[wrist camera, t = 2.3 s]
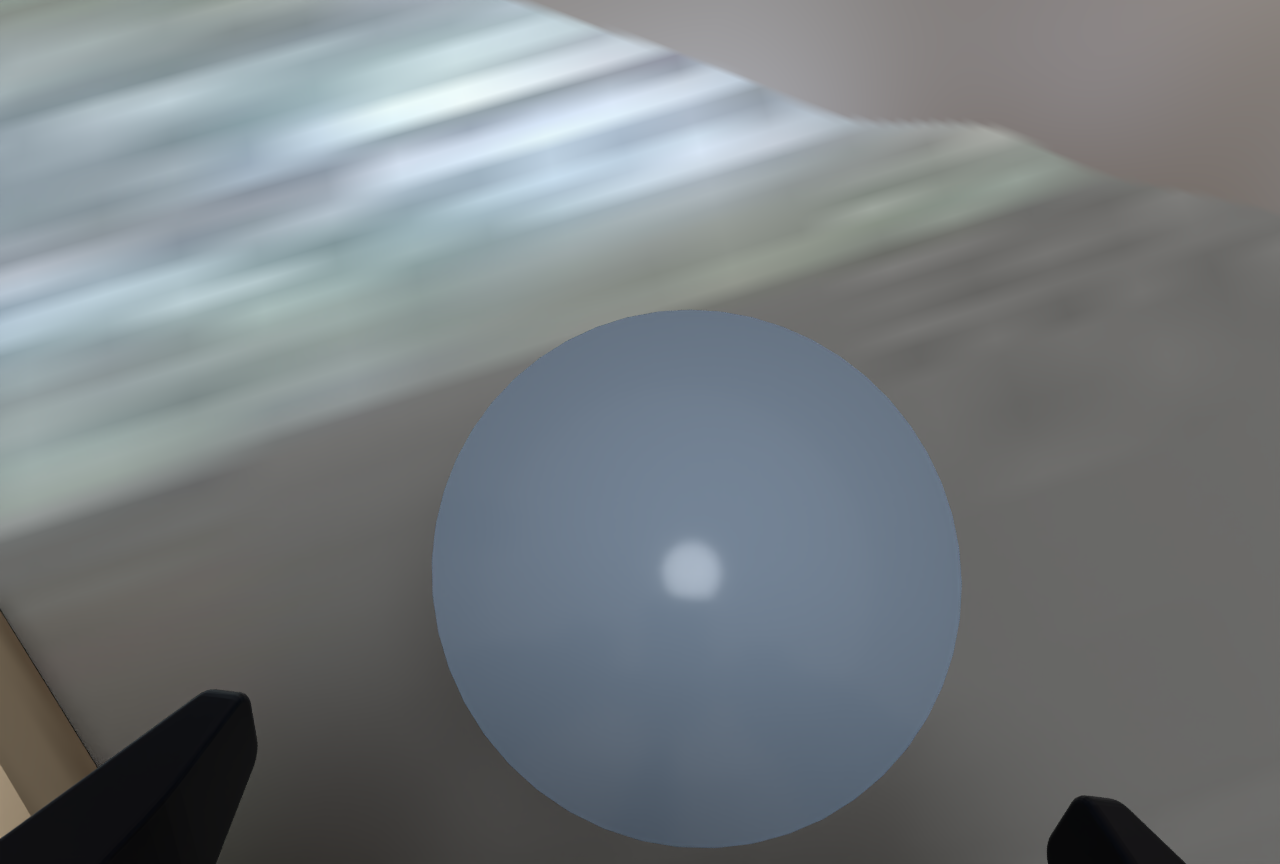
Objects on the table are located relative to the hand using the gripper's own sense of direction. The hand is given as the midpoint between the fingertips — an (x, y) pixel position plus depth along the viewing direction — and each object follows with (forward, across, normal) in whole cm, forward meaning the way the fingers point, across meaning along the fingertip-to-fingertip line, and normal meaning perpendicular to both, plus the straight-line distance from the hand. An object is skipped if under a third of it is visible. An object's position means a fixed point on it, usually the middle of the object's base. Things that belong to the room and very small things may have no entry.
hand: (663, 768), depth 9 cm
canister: (+8, 0, +5) cm, 10 cm away
